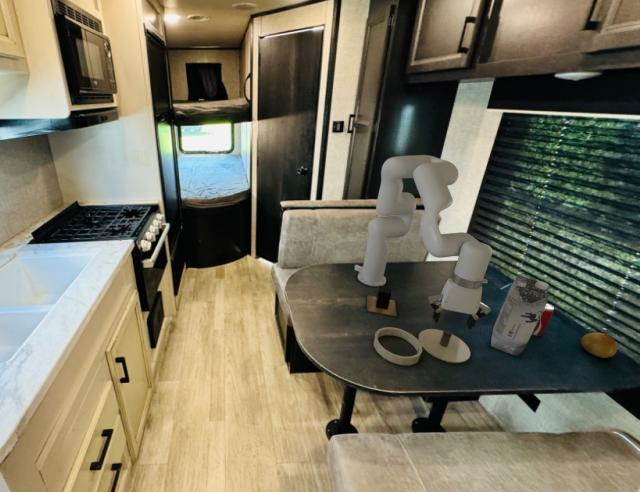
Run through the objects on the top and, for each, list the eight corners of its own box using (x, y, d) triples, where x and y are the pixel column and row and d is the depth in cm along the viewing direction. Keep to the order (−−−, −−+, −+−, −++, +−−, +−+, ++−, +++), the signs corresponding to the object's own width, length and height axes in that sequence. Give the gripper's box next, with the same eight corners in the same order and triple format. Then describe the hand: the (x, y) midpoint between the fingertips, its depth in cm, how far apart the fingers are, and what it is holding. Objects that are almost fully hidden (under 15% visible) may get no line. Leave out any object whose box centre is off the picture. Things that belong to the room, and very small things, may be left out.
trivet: (366, 311, 127) (367, 310, 127) (367, 296, 137) (367, 295, 136) (396, 317, 124) (396, 316, 124) (394, 301, 133) (394, 300, 133)
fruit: (623, 362, 100) (625, 337, 100) (588, 355, 103) (589, 331, 104) (607, 357, 107) (609, 334, 108) (575, 351, 110) (576, 328, 111)
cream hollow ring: (366, 349, 109) (367, 341, 107) (383, 328, 118) (385, 321, 116) (410, 373, 99) (412, 365, 98) (425, 349, 108) (428, 342, 107)
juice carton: (487, 347, 109) (515, 282, 98) (490, 331, 116) (517, 269, 105) (520, 360, 104) (553, 293, 92) (521, 343, 111) (553, 279, 99)
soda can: (542, 338, 113) (556, 312, 108) (523, 332, 116) (536, 306, 110) (541, 330, 116) (554, 304, 111) (523, 325, 119) (535, 299, 114)
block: (375, 307, 129) (378, 291, 125) (375, 301, 133) (378, 285, 129) (387, 310, 127) (391, 293, 124) (387, 303, 131) (390, 287, 128)
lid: (411, 346, 110) (415, 332, 107) (426, 325, 120) (430, 311, 117) (462, 372, 100) (468, 357, 97) (474, 346, 109) (480, 332, 107)
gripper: (495, 279, 98) (479, 322, 105) (433, 269, 104) (421, 311, 111) (504, 291, 92) (486, 337, 99) (437, 281, 97) (424, 324, 104)
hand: (451, 323), depth 105 cm, fingers open, 9 cm apart
